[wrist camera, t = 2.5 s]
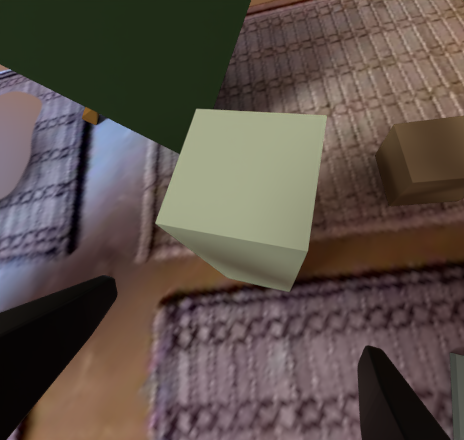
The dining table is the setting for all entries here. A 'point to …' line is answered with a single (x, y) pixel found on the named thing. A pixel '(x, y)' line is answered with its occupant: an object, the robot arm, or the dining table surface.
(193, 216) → the sage block
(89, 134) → the dining table surface
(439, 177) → the walnut block
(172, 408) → the dining table surface
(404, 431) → the robot arm
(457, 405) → the slate mat
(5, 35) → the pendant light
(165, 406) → the dining table surface
